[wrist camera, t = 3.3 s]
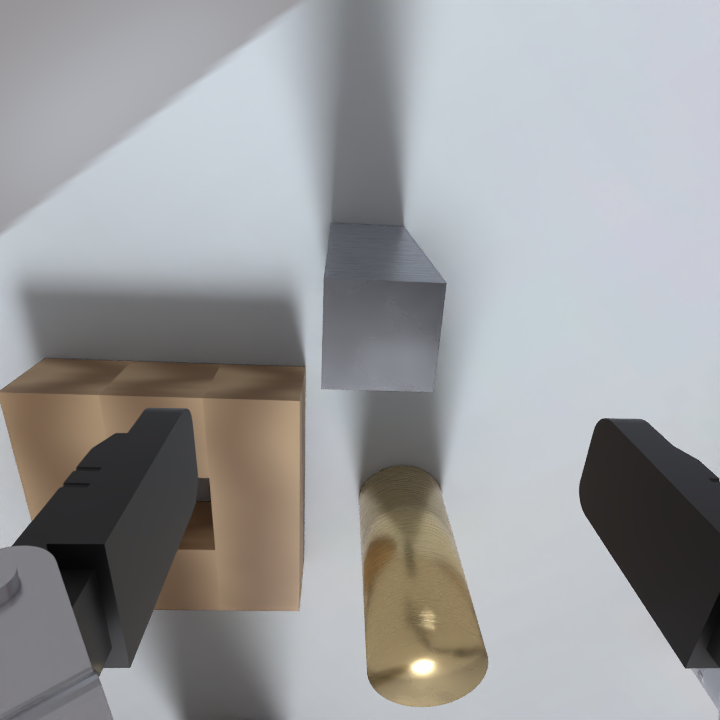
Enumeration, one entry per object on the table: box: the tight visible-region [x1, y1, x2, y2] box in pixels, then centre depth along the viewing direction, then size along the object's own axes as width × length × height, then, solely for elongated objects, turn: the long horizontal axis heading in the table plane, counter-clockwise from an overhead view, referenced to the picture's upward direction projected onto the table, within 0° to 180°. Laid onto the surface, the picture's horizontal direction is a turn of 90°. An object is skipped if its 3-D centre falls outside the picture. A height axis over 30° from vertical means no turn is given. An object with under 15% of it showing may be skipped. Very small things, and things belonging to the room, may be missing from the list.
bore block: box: [0, 358, 306, 611], centre depth 28 cm, size 14×14×4 cm
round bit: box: [359, 466, 488, 707], centre depth 26 cm, size 5×5×11 cm
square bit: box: [321, 223, 446, 392], centre depth 20 cm, size 4×4×11 cm
